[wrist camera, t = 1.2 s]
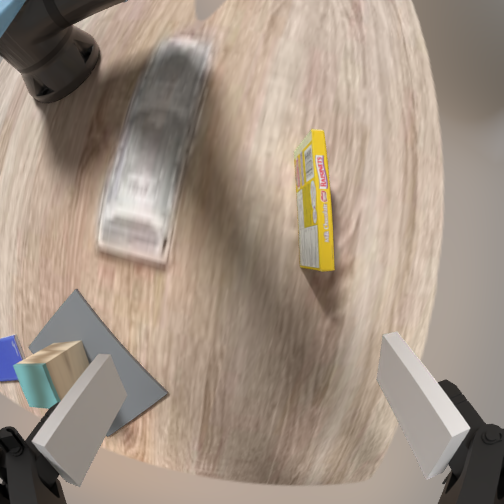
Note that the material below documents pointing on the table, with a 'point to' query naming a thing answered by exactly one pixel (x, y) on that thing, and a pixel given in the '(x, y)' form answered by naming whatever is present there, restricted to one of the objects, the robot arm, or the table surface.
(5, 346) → the hard drive
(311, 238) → the candy box
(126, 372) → the slate mat
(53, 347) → the maple block
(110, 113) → the table surface
